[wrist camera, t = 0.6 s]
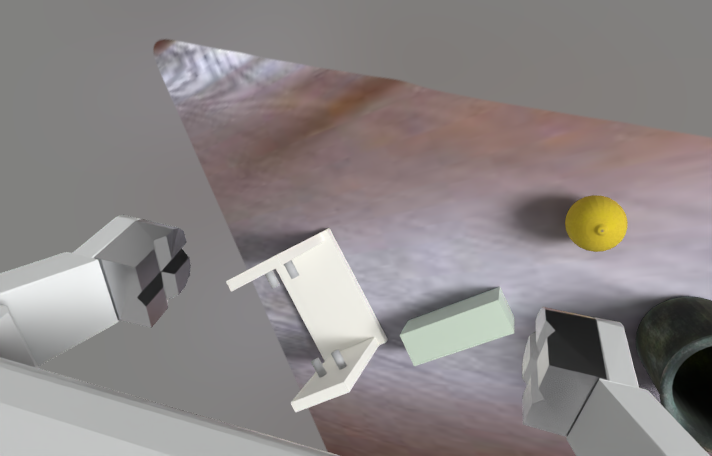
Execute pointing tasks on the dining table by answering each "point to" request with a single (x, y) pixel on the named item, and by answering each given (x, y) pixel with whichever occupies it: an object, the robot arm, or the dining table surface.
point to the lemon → (596, 223)
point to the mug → (681, 361)
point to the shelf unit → (325, 313)
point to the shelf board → (458, 327)
